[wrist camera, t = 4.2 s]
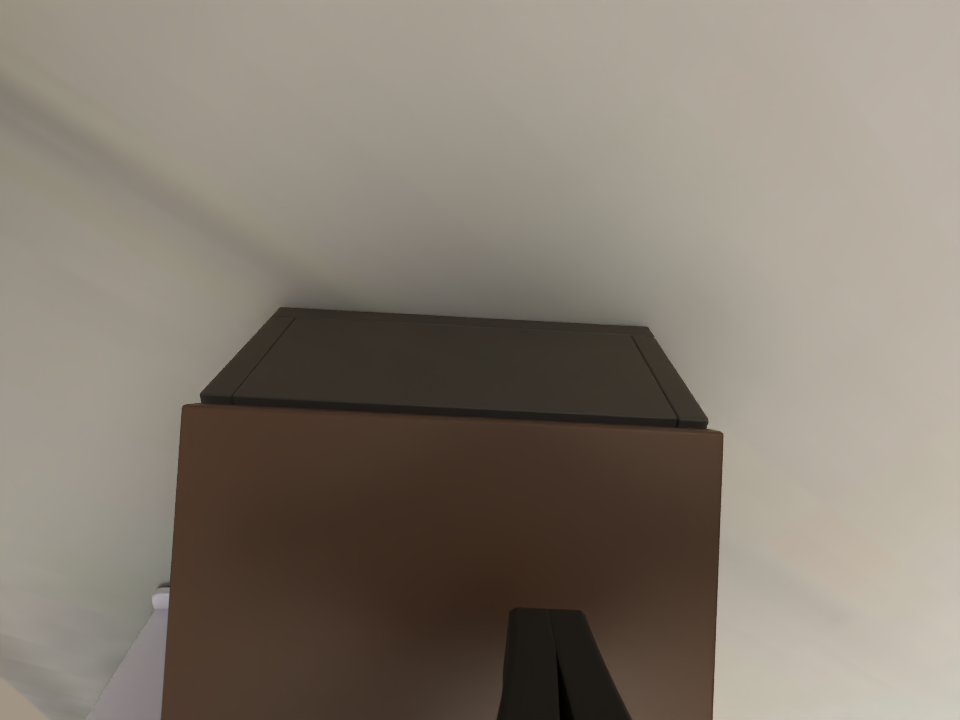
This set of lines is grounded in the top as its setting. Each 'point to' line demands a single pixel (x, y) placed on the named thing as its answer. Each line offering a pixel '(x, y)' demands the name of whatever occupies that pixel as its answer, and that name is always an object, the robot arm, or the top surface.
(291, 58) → the top surface
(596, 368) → the dark gray box
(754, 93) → the top surface
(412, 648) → the brown box lid
